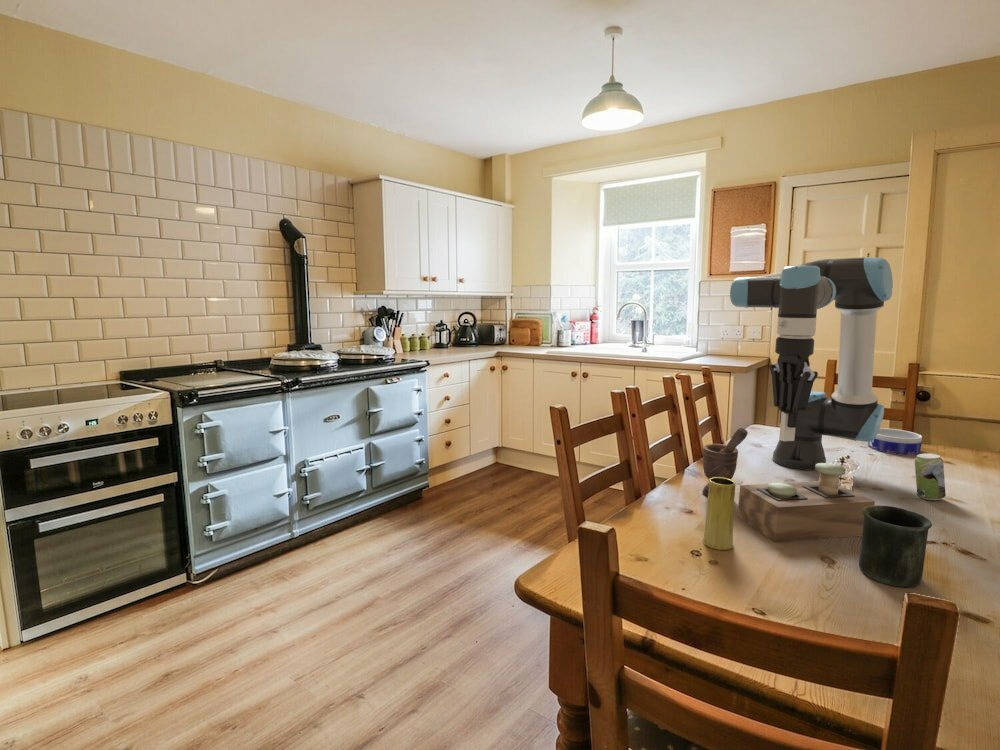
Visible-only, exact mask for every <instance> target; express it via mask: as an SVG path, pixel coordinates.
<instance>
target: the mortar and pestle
mask: <svg viewBox="0 0 1000 750" xmlns="http://www.w3.org/2000/svg"><path fill="white" fill-rule="evenodd" d="M748 434H749V433H748V431H747V430H746V428H743V427H740V428H738V429H737V430H736V431H735V432H734V433H733V435H732V436H731V438H730V440H729V441H728V443H727V444H722V443H709V444H705V445H704V446H703V450H702V451H703V453H702V468H703V473H704V476H705V477H706V478H707V480H709V479H710V478H713V477H723V478H728V479H731V480H733V477H734V475H735V473H736V469H737V465H738V464H737V463H738V456H739V454H738V453H739V450H738V449H737V447H738V446H739V445H740V444H742V442H743V441H744V440H745V439H746V438H747V436H748ZM708 487H709V482H708V483H707V484H706V485H704V487H703V488H702V494H703V495H704V496H705V497H708Z"/></svg>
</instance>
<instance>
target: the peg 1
mask: <svg viewBox="0 0 1000 750" xmlns="http://www.w3.org/2000/svg"><path fill="white" fill-rule="evenodd" d="M784 483H785V482H771V483H767V484H768V491H769V492H771V493H772V495H774V496H776V497H778V498H788V497H791V496H794V495H796V494H797V488H796V487H794V486H791V485H788V484H784Z"/></svg>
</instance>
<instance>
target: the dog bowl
mask: <svg viewBox="0 0 1000 750" xmlns="http://www.w3.org/2000/svg"><path fill="white" fill-rule="evenodd" d="M922 441H923V436H922V435H921V434H920V433H919V434H918V433H917V432H913V431H908V430H903V429H897V428H895V429H894V428H887V427H885V428H884V427H883V428H882V427H880V428H879V431H878V433H877V435H876V437H875V439H874V440H872V441H870V442H867V446H868V448H870V449H872V450H874V451H877V452H881V453H885V454H891V455H900V456H917V455H918V454H921V448H922V443H923V442H922Z"/></svg>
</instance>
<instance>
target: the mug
mask: <svg viewBox="0 0 1000 750" xmlns="http://www.w3.org/2000/svg"><path fill="white" fill-rule="evenodd" d="M862 513H863V515H864V523H863V532H862V536H861V542H860V550H859V551H860V552H859V560H858V566H859V568H860V571H861V572H862V573H863V574H864V575H865V576H867V577H868V578H870V579H872V580H875V581H876V582H877V581H878V582H880V583H883V584H884V585H885V584H886V585H889V586H893V587H894V586H895V587H898V588H899V587H900V588H913V587H912V586H914V587H917V586H918V585H920V584H921V582H923V581H922V580H923V573H924V568H925V567H924V566H925V560H926V559H925V557H926V552H927V551H926V550H927V545H928V544H927V542H928V535H929V530H930V529H931V528H932V527H933V523H932V521H931V520H930V519H929V518H928V517H926V516H924V515H922V514H920V513H917V512H916V511H912V510H909V509H904V508H901V507H896V506H889V505H882V504H881V505H880V504H879V505H876V504H875V506H868V507H865V508H864V509H863V510H862Z"/></svg>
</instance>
